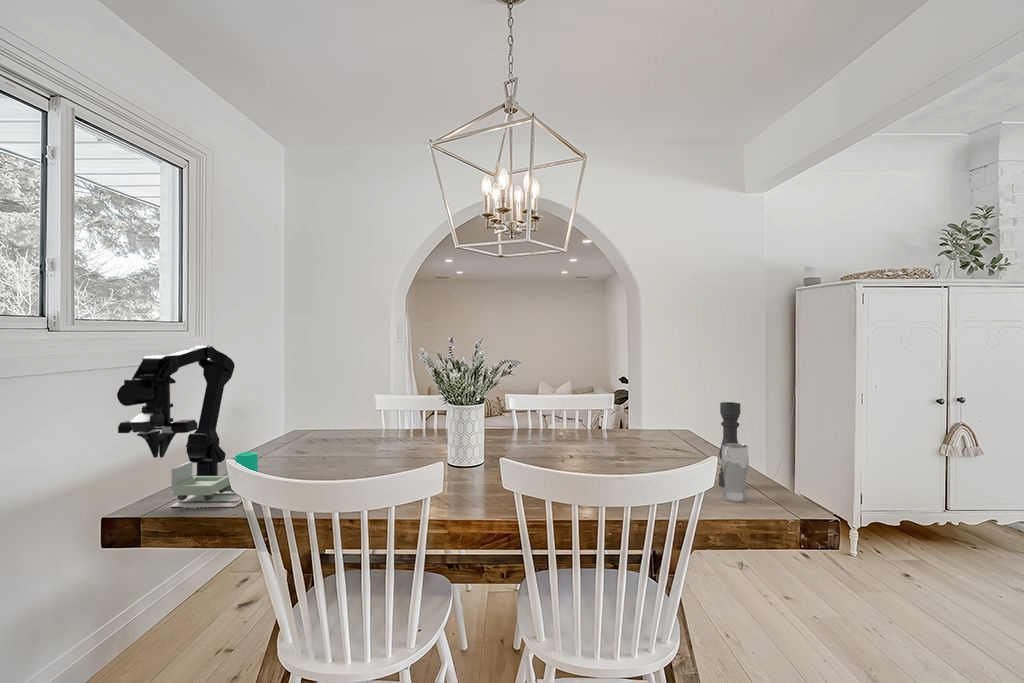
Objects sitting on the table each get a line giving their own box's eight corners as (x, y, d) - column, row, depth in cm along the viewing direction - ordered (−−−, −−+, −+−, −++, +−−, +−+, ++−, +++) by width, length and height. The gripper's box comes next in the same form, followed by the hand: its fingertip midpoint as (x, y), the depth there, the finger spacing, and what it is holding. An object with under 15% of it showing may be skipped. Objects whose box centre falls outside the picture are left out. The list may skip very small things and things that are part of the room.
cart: (191, 491, 156) (190, 460, 156) (230, 490, 156) (229, 460, 156) (169, 502, 146) (169, 469, 146) (211, 501, 146) (210, 469, 146)
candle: (249, 492, 159) (248, 451, 159) (231, 491, 160) (230, 450, 160) (262, 486, 165) (262, 446, 164) (245, 485, 166) (244, 446, 166)
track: (198, 493, 158) (198, 490, 158) (257, 493, 158) (256, 490, 158) (170, 507, 145) (170, 505, 145) (234, 507, 145) (234, 504, 145)
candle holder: (743, 485, 165) (744, 403, 165) (736, 489, 160) (737, 405, 160) (723, 481, 169) (723, 401, 169) (715, 485, 165) (716, 403, 164)
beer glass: (748, 497, 153) (748, 444, 153) (747, 504, 147) (748, 449, 147) (722, 494, 156) (722, 442, 156) (720, 500, 150) (720, 446, 150)
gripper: (102, 405, 142) (103, 464, 143) (174, 405, 143) (174, 464, 143) (131, 399, 154) (132, 455, 154) (198, 399, 154) (198, 454, 154)
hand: (158, 457), depth 151 cm, fingers closed
